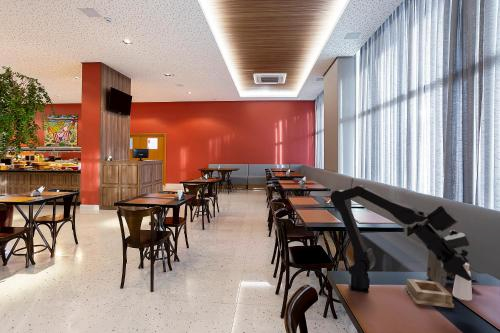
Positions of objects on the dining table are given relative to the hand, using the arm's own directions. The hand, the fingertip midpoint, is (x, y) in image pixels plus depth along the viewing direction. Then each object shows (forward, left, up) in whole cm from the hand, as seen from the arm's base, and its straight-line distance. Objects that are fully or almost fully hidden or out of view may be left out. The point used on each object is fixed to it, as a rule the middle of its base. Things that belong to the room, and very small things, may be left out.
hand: (468, 277), depth 92 cm
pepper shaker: (-1, 0, -7) cm, 7 cm away
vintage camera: (+7, +26, -13) cm, 30 cm away
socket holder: (-7, +11, -13) cm, 19 cm away
